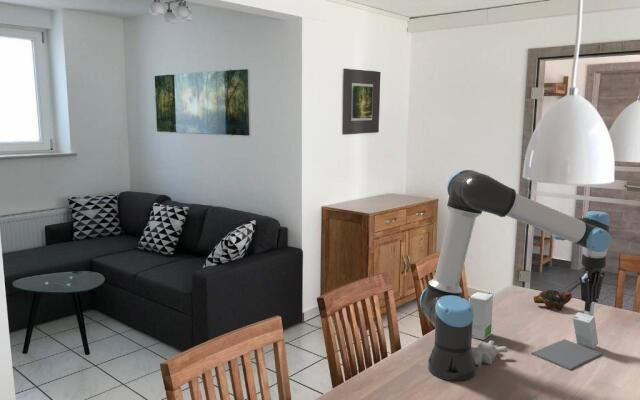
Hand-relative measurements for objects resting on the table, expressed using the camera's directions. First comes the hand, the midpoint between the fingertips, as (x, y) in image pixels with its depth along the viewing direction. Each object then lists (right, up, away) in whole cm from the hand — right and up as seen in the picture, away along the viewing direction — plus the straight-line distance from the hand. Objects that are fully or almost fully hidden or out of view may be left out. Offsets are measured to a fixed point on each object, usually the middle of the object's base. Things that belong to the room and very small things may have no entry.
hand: (588, 319), depth 191 cm
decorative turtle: (+4, -4, +39) cm, 40 cm away
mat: (-10, -11, -5) cm, 16 cm away
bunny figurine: (-40, -12, -9) cm, 42 cm away
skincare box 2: (+1, -10, +2) cm, 10 cm away
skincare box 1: (-36, -9, +11) cm, 38 cm away
